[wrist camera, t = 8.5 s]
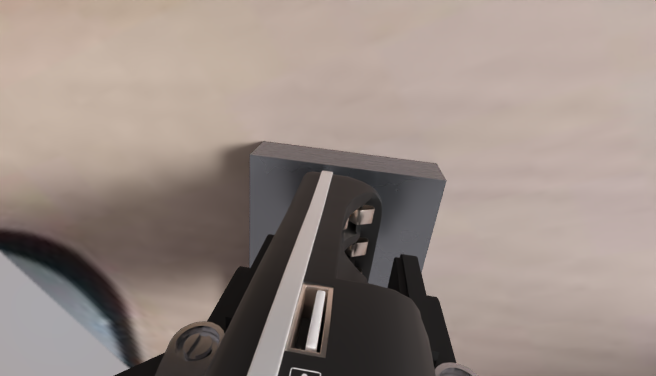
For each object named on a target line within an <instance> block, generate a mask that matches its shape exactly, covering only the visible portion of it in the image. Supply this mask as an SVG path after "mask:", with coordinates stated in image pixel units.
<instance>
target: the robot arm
mask: <svg viewBox="0 0 656 376" xmlns="http://www.w3.org/2000/svg"><path fill="white" fill-rule="evenodd" d="M273 237H274V235H272V234H268V235H267V237H266V239H265V241H264V243H263V245H262V247H261V249H260V251H259V252H258V254H257V256H256V258H255V260H254V262H253V264H252V266H251V268H247V267H239V268H238V269H237V270H236V272H235V274H234V276H233V277H232V279H231V281H230V282H229V284H228V286H227V288H226V289H225V291H224V293H223V295H222V296H221V298H220V300H219V302H218V303H217V305H216V307H215V309H214V310H213V312H212V314H211V316H210V317H209V319H208V321H207V322H206V321H204V322H196V323H192V324H189V325H187V326H185V327H183V328H182V329H180V330H179V331H178V332H177V333H176V334H175V335H174V336H173V338H172V339H171V341H170V343H169V345H168V347H167V349H166V351H165V353H163V354H161V355H159V356H156V357H154V358H152V359H150V360H148V361H145V362H143V363H141V364H139V365H137V366H134V367H132V368H130V369H128V370H126V371H123V372H121V373H119V374H117V375H115V376H205V374H206V372H207V370H208V368H209V366H210V364H211V361H212V359H213V357H214V355H215V353H216V351H217V349H218V347H219V345H220V343H221V341H222V339H223V337H224V335H225V332H226V330H227V328H228V326H229V324H230V322H231V320H232V318H233V316H234V314H235V312H236V310H237V308H238V306H239V304H240V302H241V300H242V298H243V296H244V294H245V292H246V290H247V288H248V286H249V284H250V282H251V280H252V278H253V276H254V274H255V272H256V270H257V268H258V266H259V264H260V262H261V260H262V258H263V256H264V254H265V252H266V251H267V249H268V247H269V245H270V243H271V241H272V239H273ZM387 288H389V289H393V290H395V291H397V292H399V293H401V294H403V295H405V296H407V297H409V298H411V299H412V300H413V302H414V303H415V305H416V306H417V308H418V309H419V310H420V314H421V319H422V321H423V324H424V327H425V330H426V332H427V335H428V338H429V343H430V348H431V353H432V358H433V363H434V368H435V373H436V376H478V375H477V374H476V373H475V372H473V371H472V370H470V369H469V368H467V367H465V366H463V365H460V364H457V363H456V360H455V357H454V353H453V349H452V346H451V342H450V338H449V335H448V331H447V328H446V324H445V320H444V317H443V313H442V310H441V306H440V302H439V300H438V298H437V297H432V296H426V291H425V287H424V283H423V279H422V274H421V270H420V266H419V261H418V258H417V256H412V255H405V254H401V255H400V258H398V257H395V258H394V261H393V265H392V270H391V274H390V278H389V283H388V287H387Z"/></svg>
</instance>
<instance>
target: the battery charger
mask: <svg viewBox="0 0 656 376" xmlns="http://www.w3.org/2000/svg"><path fill="white" fill-rule="evenodd" d="M381 217H382V201H381V198H380V196H379V194H378V193H377V191H376V190H375V189H374V188H373V187H371V186H370V185H368V184H366V183H365V182H363V181H360V180H357V179H354V178H351V177H347V176H341V175H334V174H333V172H330V171H323V170H322V172H308V173H306V174H305V175H304V176H303V178H302V181H301V183H300V185H299V187H298V189H297V191H296V194H295V196H294V198H293V200H292V202H291V204H290V206H289V208H288V210H287V212H286V214H285V216H284V218H283V220H282V222H281V224H280V226H279V228H278V229H277V231H276V233H275V235H274V237H273V239H272V241H271V243H270V245H269V247H268V249H267V251H266V252H265V254H264V256H263V258H262V260H261V262H260V264H259V266H258V268H257V270H256V272H255V274H254V276H253V278H252V280H251V282H250V284H249V286H248V288H247V290H246V292H245V294H244V296H243V298H242V300H241V302H240V304H239V306H238V308H237V310H236V312H235V314H234V316H233V318H232V320H231V322H230V324H229V326H228V328H227V330H226V332H225V335H224V337H223V339H222V341H221V343H220V345H219V347H218V349H217V351H216V353H215V355H214V357H213V359H212V361H211V364H210V366H209V368H208V370H207V372H206V374H205V376H436V373H435V368H434V363H433V358H432V353H431V348H430V343H429V338H428V335H427V332H426V330H425V327H424V324H423V321H422V319H421V314H420V310H419V309H418V308H417V306H416V305H415V303H414V302H413V300H412V299H411V298H409V297H407V296H405V295H403V294H401V293H399V292H397V291H395V290H393V289H389V288H385V287H381V286H377V285H373V284H369V283H368V281H369V276H370V271H371V267H372V262H373V257H374V252H375V248H376V243H377V238H378V233H379V229H380V224H381Z"/></svg>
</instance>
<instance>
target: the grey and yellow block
mask: <svg viewBox="0 0 656 376" xmlns="http://www.w3.org/2000/svg"><path fill="white" fill-rule="evenodd" d="M322 170H323V171H330V172H333V174H334V175H341V176H347V177H351V178H354V179H357V180H360V181H363V182H365V183H366V184H368V185H370V186H371V187H373V188H374V189H375V190H376V191H377V193H378V194H379V196H380V198H381V201H382V217H381V224H380V229H379V233H378V238H377V243H376V248H375V252H374V257H373V262H372V267H371V271H370V276H369V281H368V283H369V284H373V285H377V286H381V287H385V288H387V287H388V283H389V278H390V274H391V270H392V265H393V261H394V258H395V257H398V258H400V255H401V254H405V255H412V256H417V258H418V261H419V266H420V270H421V272H422V269H423V265H424V261H425V258H426V254H427V250H428V246H429V243H430V239H431V235H432V232H433V228H434V224H435V221H436V217H437V213H438V210H439V206H440V202H441V199H442V195H443V191H444V188H445V184H446V179H445V177H444V176H443V174H442V172H441V170H440V169H439V167H438V165H437V164H435V163H428V162H420V161H412V160H404V159H397V158H389V157H381V156H374V155H366V154H358V153H350V152H343V151H335V150H327V149H320V148H312V147H304V146H296V145H289V144H281V143H273V142H265V141H263V142H262V143H261V144H260V145H259V146H258V147H257V148H256V149H255V150H254V151H253V152H252V153H251V154H250V242H249V268H251V266H252V264H253V262H254V260H255V258H256V256H257V254H258V252H259V251H260V249H261V247H262V245H263V243H264V241H265V239H266V237H267V235H268V234H272V235H275V233H276V231H277V229H278V228H279V226H280V224H281V222H282V220H283V218H284V216H285V214H286V212H287V210H288V208H289V206H290V204H291V202H292V200H293V198H294V196H295V194H296V191H297V189H298V187H299V185H300V183H301V181H302V178H303V176H304V175H305V174H306V173H308V172H322Z"/></svg>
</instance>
